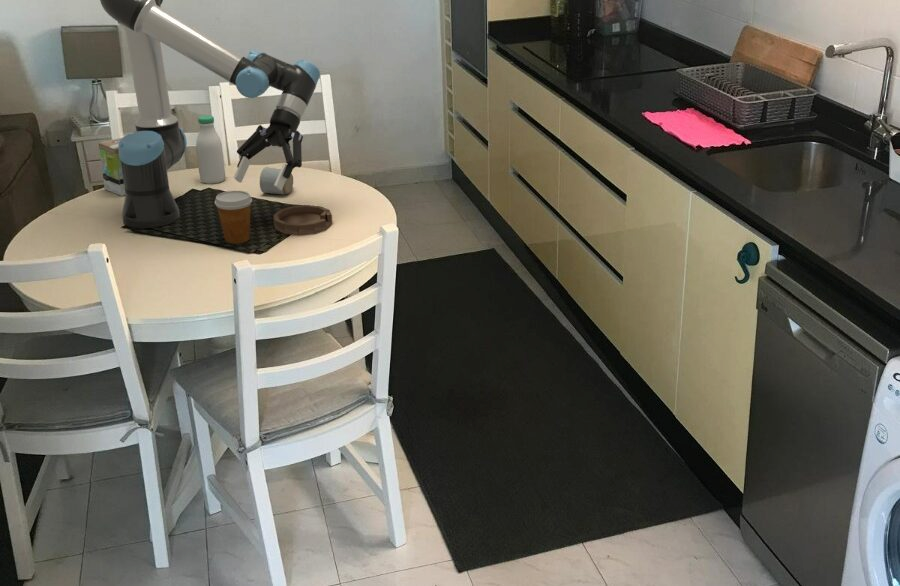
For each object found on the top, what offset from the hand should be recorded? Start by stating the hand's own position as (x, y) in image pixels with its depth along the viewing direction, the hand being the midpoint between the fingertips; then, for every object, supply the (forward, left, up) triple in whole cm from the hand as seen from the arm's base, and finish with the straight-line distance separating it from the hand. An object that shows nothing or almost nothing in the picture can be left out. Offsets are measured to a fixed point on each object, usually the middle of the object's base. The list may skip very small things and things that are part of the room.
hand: (257, 184), depth 254 cm
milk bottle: (-11, +47, -13) cm, 50 cm away
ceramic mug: (+8, +30, -13) cm, 34 cm away
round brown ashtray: (+11, +1, -13) cm, 17 cm away
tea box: (-34, +47, -13) cm, 59 cm away
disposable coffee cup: (-7, -5, -13) cm, 16 cm away
